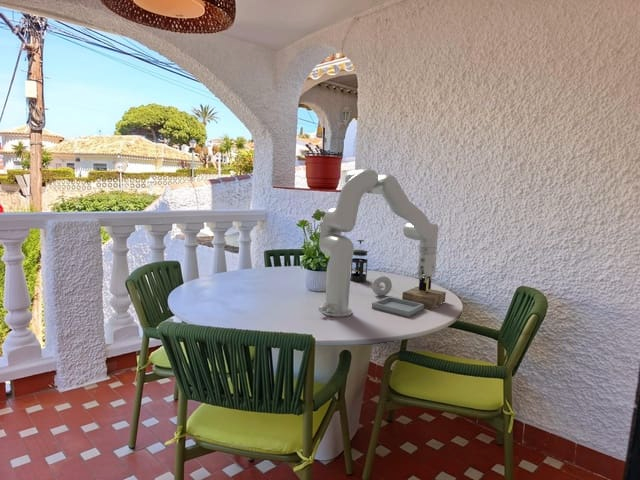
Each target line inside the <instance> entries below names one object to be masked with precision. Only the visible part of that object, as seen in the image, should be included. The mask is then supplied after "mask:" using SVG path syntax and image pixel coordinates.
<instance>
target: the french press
mask: <svg viewBox="0 0 640 480" xmlns="http://www.w3.org/2000/svg"><path fill="white" fill-rule="evenodd" d="M356 241H357V242H359V249H354V253H353V256H356V257H357V256H358V257H357V258H356V257H355V258H354V257H352V261H351V270H350V282H354V283H366V282H367V281H368V280H367V276H368V275H367V274H368V273H367V272H368V259H366V258H361V257H367V256H368V253H369V251H368V250H366V249H365V250H364V249H361V247H362V242H365V240H363V239H357V240H356ZM353 263H355V267H353ZM364 264H365V265H364ZM364 266H365V268H364ZM353 272H354V273H353Z"/></svg>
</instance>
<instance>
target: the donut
mask: <svg viewBox="0 0 640 480" xmlns="http://www.w3.org/2000/svg"><path fill="white" fill-rule="evenodd" d="M382 283H383V284H384V287H382V288H380V287H379V285H380V284H382ZM392 287H393V284H392V281H391V279H390V278H389V276H386V275H379V276H376V277H375V278H374V279H373V281H372V282H371V290H372V292H373V293H374V294H375V295H376V296H379V297H382V296H383V297H384V296H386V295H388V294H389V293H390V292H391V291H392Z"/></svg>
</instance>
